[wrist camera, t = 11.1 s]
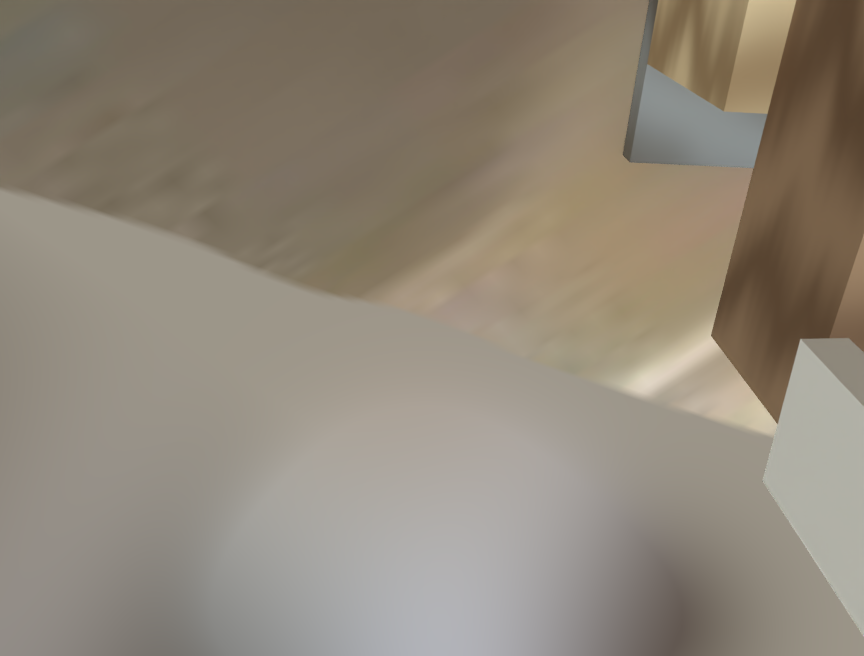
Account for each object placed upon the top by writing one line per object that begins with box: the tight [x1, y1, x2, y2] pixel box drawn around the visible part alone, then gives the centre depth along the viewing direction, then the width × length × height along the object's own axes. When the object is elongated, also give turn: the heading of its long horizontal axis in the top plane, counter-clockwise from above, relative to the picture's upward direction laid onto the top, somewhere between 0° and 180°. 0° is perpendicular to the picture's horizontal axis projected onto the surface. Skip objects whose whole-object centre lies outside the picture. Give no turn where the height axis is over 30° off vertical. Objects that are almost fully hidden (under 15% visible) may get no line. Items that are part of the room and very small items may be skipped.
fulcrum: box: [623, 0, 796, 168], centre depth 31 cm, size 12×8×10 cm, turn 176°
